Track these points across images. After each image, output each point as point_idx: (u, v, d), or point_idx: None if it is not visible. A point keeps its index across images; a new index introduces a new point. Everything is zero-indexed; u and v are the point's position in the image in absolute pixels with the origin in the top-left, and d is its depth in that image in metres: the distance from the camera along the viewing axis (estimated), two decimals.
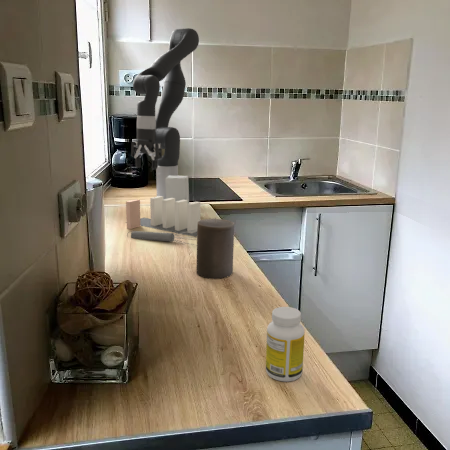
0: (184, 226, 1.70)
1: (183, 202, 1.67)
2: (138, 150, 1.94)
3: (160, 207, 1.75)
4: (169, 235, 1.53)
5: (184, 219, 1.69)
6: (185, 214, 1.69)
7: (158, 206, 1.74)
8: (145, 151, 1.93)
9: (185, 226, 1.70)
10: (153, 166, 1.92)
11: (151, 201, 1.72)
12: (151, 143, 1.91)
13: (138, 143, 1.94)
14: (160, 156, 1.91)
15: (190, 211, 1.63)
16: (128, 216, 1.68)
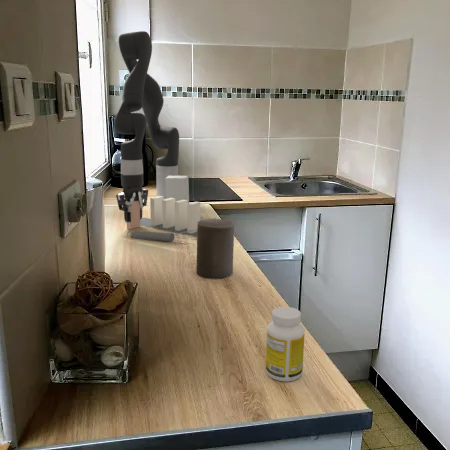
0: (184, 226, 1.70)
1: (183, 202, 1.67)
2: (132, 200, 1.66)
3: (160, 207, 1.75)
4: (169, 235, 1.53)
5: (184, 219, 1.69)
6: (185, 214, 1.69)
7: (158, 206, 1.74)
8: (135, 198, 1.68)
9: (185, 226, 1.70)
10: (141, 215, 1.73)
11: (151, 201, 1.72)
12: None
13: (128, 192, 1.65)
14: (142, 202, 1.74)
15: (190, 211, 1.63)
16: None
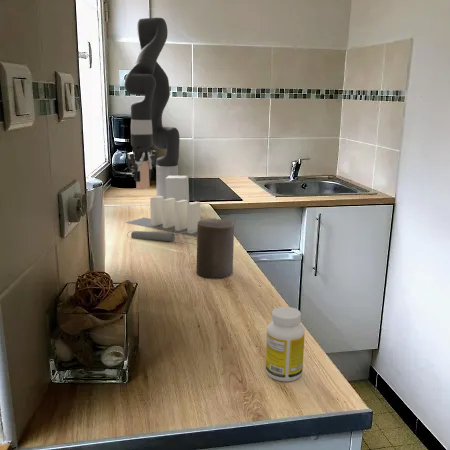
0: (184, 226, 1.70)
1: (183, 202, 1.67)
2: (142, 160, 1.71)
3: (160, 207, 1.75)
4: (169, 235, 1.53)
5: (184, 219, 1.69)
6: (185, 214, 1.69)
7: (158, 206, 1.74)
8: (144, 158, 1.73)
9: (185, 226, 1.70)
10: (150, 176, 1.77)
11: (151, 201, 1.72)
12: None
13: (138, 151, 1.70)
14: None
15: (190, 211, 1.63)
16: None
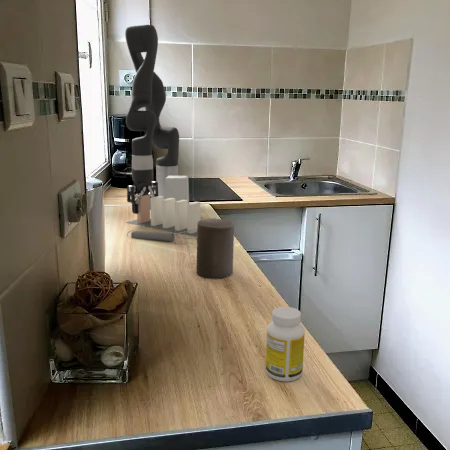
0: (184, 226, 1.70)
1: (183, 202, 1.67)
2: (141, 193, 1.74)
3: (160, 207, 1.75)
4: (169, 234, 1.53)
5: (184, 219, 1.69)
6: (185, 214, 1.69)
7: (158, 206, 1.74)
8: (146, 192, 1.76)
9: (185, 226, 1.70)
10: None
11: (151, 201, 1.72)
12: (151, 182, 1.78)
13: (139, 186, 1.73)
14: (155, 194, 1.83)
15: (190, 211, 1.63)
16: (138, 209, 1.76)
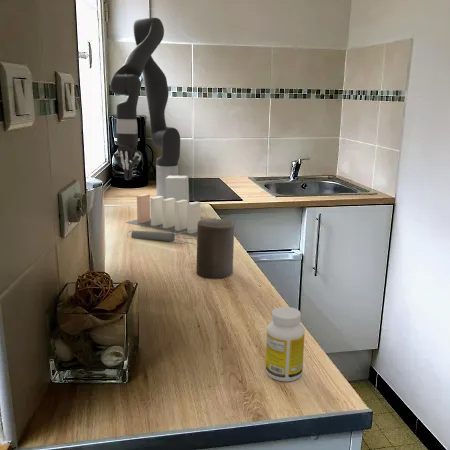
0: (184, 226, 1.70)
1: (183, 202, 1.67)
2: None
3: (160, 207, 1.75)
4: (169, 234, 1.53)
5: (184, 219, 1.69)
6: (185, 214, 1.69)
7: (158, 206, 1.74)
8: None
9: (185, 226, 1.70)
10: None
11: (151, 201, 1.72)
12: None
13: None
14: None
15: (190, 211, 1.63)
16: (138, 209, 1.76)
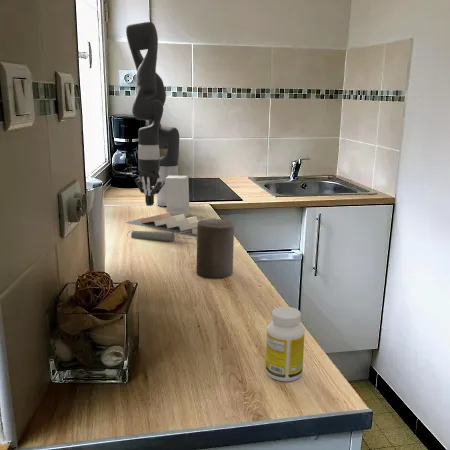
0: None
1: None
2: None
3: None
4: (169, 234, 1.53)
5: None
6: None
7: None
8: None
9: None
10: None
11: (172, 218, 1.68)
12: None
13: None
14: None
15: None
16: (150, 218, 1.74)
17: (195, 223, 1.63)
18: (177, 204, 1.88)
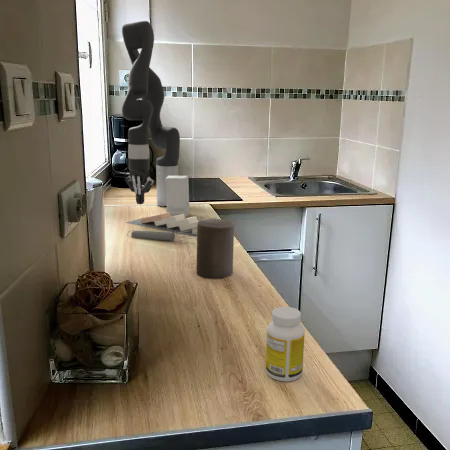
0: None
1: None
2: None
3: None
4: (170, 234, 1.54)
5: None
6: None
7: None
8: None
9: None
10: None
11: (172, 218, 1.68)
12: None
13: None
14: None
15: None
16: (150, 218, 1.74)
17: (195, 223, 1.63)
18: (177, 204, 1.88)
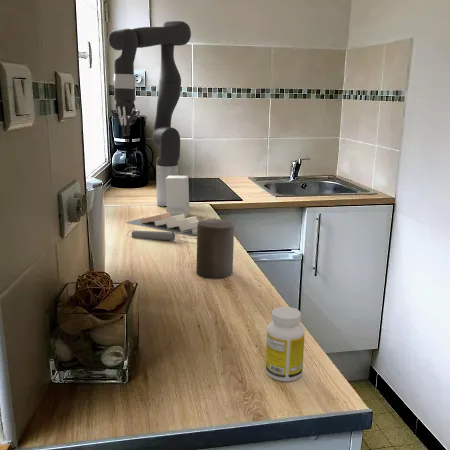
0: None
1: None
2: None
3: None
4: (170, 234, 1.54)
5: None
6: None
7: None
8: None
9: None
10: None
11: (172, 218, 1.68)
12: None
13: None
14: None
15: None
16: (150, 218, 1.74)
17: (195, 223, 1.63)
18: (177, 204, 1.88)
